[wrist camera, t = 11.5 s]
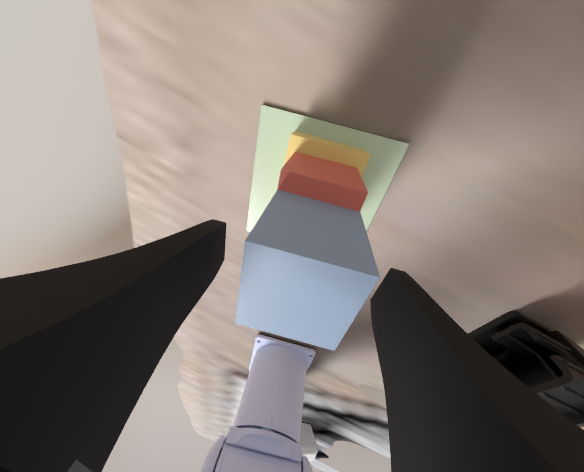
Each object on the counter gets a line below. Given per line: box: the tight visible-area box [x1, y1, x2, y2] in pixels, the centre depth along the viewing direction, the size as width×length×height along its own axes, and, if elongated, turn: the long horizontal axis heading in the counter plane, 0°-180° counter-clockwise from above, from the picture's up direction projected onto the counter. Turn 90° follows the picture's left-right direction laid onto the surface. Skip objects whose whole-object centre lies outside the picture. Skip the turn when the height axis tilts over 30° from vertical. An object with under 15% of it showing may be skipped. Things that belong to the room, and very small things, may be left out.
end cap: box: [468, 311, 584, 427], centre depth 20 cm, size 10×7×7 cm
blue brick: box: [235, 190, 380, 351], centre depth 9 cm, size 4×4×4 cm
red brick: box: [277, 152, 368, 212], centre depth 13 cm, size 6×4×4 cm, turn 167°
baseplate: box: [246, 105, 409, 232], centre depth 17 cm, size 10×10×1 cm
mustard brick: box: [284, 131, 371, 177], centre depth 16 cm, size 8×5×2 cm, turn 167°
